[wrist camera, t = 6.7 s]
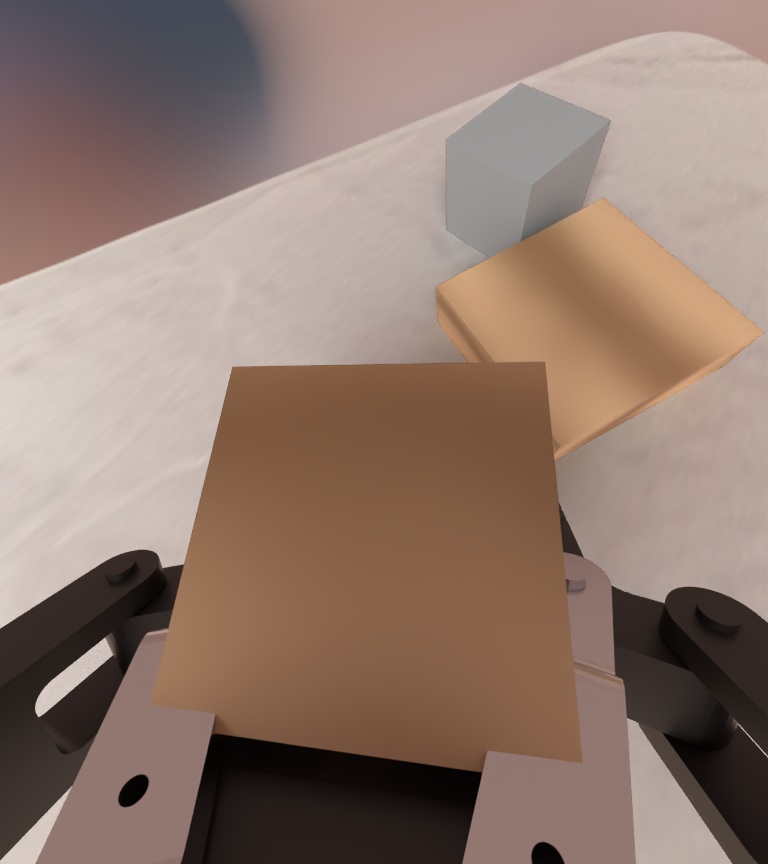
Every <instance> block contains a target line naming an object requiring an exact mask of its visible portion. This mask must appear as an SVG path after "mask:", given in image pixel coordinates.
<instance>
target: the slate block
mask: <svg viewBox="0 0 768 864" xmlns="http://www.w3.org/2000/svg"><path fill="white" fill-rule="evenodd" d="M610 123H611V120H609V119H607V118H604V117H602V116H600V115H597V114H595V113H592V112H590V111H588V110H585V109H583V108H580V107H578V106H575V105H573V104H571V103H568V102H566V101H563V100H561V99H559V98H556V97H554V96H551V95H549V94H546V93H544V92H542V91H539V90H537V89H534V88H532V87H530V86H527V85H525V84H522V83H520V84H518V85H517V86H516V87H514V88H513V89H512V90H510V91H509V92H508V93H507V94H505V95H504V96H503V97H501V98H500V99H499V100H497V101H496V102H495V103H493V104H492V105H491V106H489V107H488V108H487V109H485V110H484V111H483V112H482V113H480V114H479V115H478V116H476V117H475V118H474V119H472V120H471V121H470V122H468V123H467V124H466V125H464V126H463V127H462V128H460V129H459V130H458V131H457V132H455V133H454V134H453V135H451V136H450V137H449V138H447V139H446V230H447V231H449V232H450V233H452V234H453V235H455V236H457V237H458V238H460V239H461V240H463V241H464V242H466V243H467V244H469V245H470V246H472V247H473V248H475V249H476V250H478V251H479V252H481V253H483V254H484V255H486V256H487V257H489V258H491V257H493V256H495V255H496V254H498V253H500V252H502V251H504V250H506V249H508V248H510V247H512V246H514V245H515V244H517V243H519V242H521V241H523V240H525V239H527V238H529V237H531V236H532V235H534V234H536V233H538V232H540V231H542V230H544V229H546V228H548V227H550V226H551V225H553V224H555V223H557V222H559V221H561V220H563V219H565V218H567V217H569V216H570V215H572V214H574V213H576V212H578V211H580V209H581V207H582V204H583V201H584V198H585V195H586V192H587V189H588V186H589V183H590V180H591V178H592V175H593V172H594V169H595V166H596V163H597V160H598V157H599V154H600V152H601V149H602V146H603V143H604V140H605V137H606V134H607V131H608V128H609V125H610Z"/></svg>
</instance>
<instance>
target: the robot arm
mask: <svg viewBox="0 0 768 864" xmlns="http://www.w3.org/2000/svg"><path fill="white" fill-rule="evenodd" d="M558 504H559V502H558ZM559 514H560V525H561V536H562V546H563V557H564V568H565V578H566V589H567V600H568V611H569V621H570V632H571V643H572V653H573V664H574V675H575V685H576V696H577V707H578V718H579V728H580V739H581V750H582V760H583V763H576V762H569V761H562V760H554V759H547V758H539V757H532V756H525V755H517V754H510V753H503V752H495V751H488V750H487V755H486V759H485V764H484V768H483V772H476V771H469V770H462V769H455V768H449V767H442V766H435V765H428V764H421V763H415V762H408V761H401V760H394V759H387V758H380V757H374V756H367V755H360V754H353V753H346V752H339V751H333V750H326V749H319V748H312V747H305V746H298V745H292V744H285V743H278V742H271V741H264V740H257V739H251V738H244V737H237V736H230V735H223V734H216V733H215V727H216V714H214V713H207V712H199V711H192V710H185V709H177V708H170V707H162V706H155V705H150V702H151V698H152V694H153V690H154V686H155V681H156V677H157V673H158V669H159V665H160V661H161V657H162V653H163V649H164V645H165V641H166V637H167V632H168V628H169V624H170V620H171V616H172V612H173V608H174V604H175V600H176V596H177V592H178V588H179V583H180V579H181V575H182V571H183V567H184V565H178V566H172V567H166V568H162V565H161V562H160V559H159V557H158V555H157V554H156V553H155V552H153V551H149V550H135V551H130V552H126V553H123V554H120V555H118V556H115V557H113V558H111V559H109V560H107V561H105V562H104V563H102V564H100V565H99V566H97V567H96V568H94V569H92V570H91V571H89V572H88V573H86V574H85V575H83V576H82V577H80V578H78V579H77V580H75V581H74V582H72V583H71V584H69V585H68V586H66V587H64V588H63V589H61V590H60V591H58V592H57V593H55V594H54V595H52V596H50V597H49V598H47V599H46V600H44V601H43V602H41V603H40V604H38V605H36V606H35V607H33V608H32V609H30V610H29V611H27V612H26V613H24V614H22V615H21V616H19V617H18V618H16V619H15V620H13V621H12V622H10V623H8V624H7V625H5V626H4V627H2V628H1V629H0V860H1V859H2V858H3V857H4V856H5V855H6V854H7V853H8V852H9V851H10V850H11V849H12V848H13V846H14V845H15V844H16V843H17V842H18V841H19V840H20V839H21V838H22V837H23V836H24V835H25V834H26V833H27V832H28V831H29V830H30V829H31V828H32V827H33V826H34V825H35V824H36V823H37V822H38V821H39V819H40V818H41V817H42V816H43V815H44V814H45V813H46V812H47V811H48V810H49V809H50V808H51V807H52V806H53V805H54V804H55V803H56V802H57V801H58V800H59V799H60V798H61V797H62V796H63V795H64V793H65V792H66V791H67V790H68V789H69V788H70V787H71V786H72V785H73V786H72V788H71V790H70V792H69V794H68V796H67V798H66V801H65V803H64V805H63V807H62V809H61V811H60V813H59V815H58V817H57V820H56V822H55V824H54V826H53V828H52V830H51V832H50V834H49V836H48V838H47V841H46V843H45V845H44V847H43V849H42V851H41V853H40V855H39V857H38V860H37V862H36V864H636V860H635V844H634V827H633V811H632V795H631V779H630V763H629V747H628V730H627V718H629V719H631V720H634V721H636V722H638V724H639V726H640V728H641V729H642V731H643V732H644V734H645V735H646V737H647V738H648V740H649V741H650V743H651V744H652V746H653V747H654V749H655V750H656V752H657V753H658V755H659V756H660V758H661V759H662V760H663V762H664V763H665V765H666V766H667V768H668V769H669V771H670V772H671V774H672V775H673V777H674V778H675V780H676V781H677V783H678V784H679V786H680V787H681V788H682V790H683V791H684V793H685V794H686V796H687V797H688V799H689V800H690V802H691V803H692V805H693V806H694V808H695V809H696V811H697V812H698V813H699V815H700V816H701V818H702V819H703V821H704V822H705V824H706V825H707V827H708V828H709V830H710V831H711V833H712V834H713V836H714V837H715V839H716V840H717V841H718V843H719V844H720V846H721V847H722V849H723V850H724V852H725V853H726V855H727V856H728V858H729V859H730V861H731V862H732V864H768V758H767V757H766V755H765V754H764V753H763V752H762V751H761V750H760V749H759V748H758V746H757V745H756V744H755V743H754V742H753V741H752V740H751V739H750V738H749V736H748V735H747V734H746V733H745V732H744V731H743V730H742V729H741V728H740V726H739V725H738V724H740V725H741V726H742V728H743V729H744V730H745V731H746V732H747V733H748V734H749V735H750V736H751V738H752V739H753V740H754V741H755V742H756V743H757V744H758V745H759V746H760V748H761V749H762V750H763V751H764V752H765V753H766V754H767V755H768V623H767V622H766V621H765V620H764V619H762V618H761V617H760V616H759V615H757V614H756V613H755V612H753V611H752V610H751V609H749V608H748V607H747V606H745V605H743V604H742V603H740V602H738V601H736V600H734V599H733V598H731V597H728V596H726V595H724V594H721V593H718V592H715V591H712V590H708V589H704V588H698V587H681V588H677V589H674V590H672V591H671V592H670V593H669V594H668V595H667V597H666V600H665V603H661V602H658V601H654V600H651V599H647V598H644V597H640V596H637V595H633V594H630V593H627V592H624V591H622V590H619V589H617V588H615V587H613V586H611V582H610V580H609V578H608V576H607V575H606V574H605V572H604V571H603V570H602V569H601V568H599V567H598V566H597V565H596V564H594V563H593V562H591V561H589V560H587V559H585V558H584V557H583V555H582V553H581V550H580V548H579V546H578V544H577V541H576V539H575V537H574V535H573V533H572V530H571V528H570V526H569V524H568V522H567V521H566V517H565V515H564V513H563V511H562V510H561V506H560V504H559ZM104 638H106V640H107V642H108V644H109V646H110V649H111V651H112V653H113V656H112V657H110V658H109V659H108V660H107V661H106V662H105V663H103V664H102V665H101V666H100V667H99V668H98V669H96V670H95V671H94V672H93V673H92V674H91V675H89V676H88V677H87V678H86V679H85V680H84V681H82V682H81V683H80V684H79V685H78V686H76V687H75V688H74V689H73V690H72V691H71V692H69V693H68V694H67V695H66V696H65V697H64V698H62V699H61V700H60V701H59V702H58V703H57V704H55V705H54V706H53V707H52V708H51V709H50V710H48V711H47V712H46V713H45V714H43V715H42V716H40V717H38V716H37V714H36V712H35V704H36V701H37V698H38V696H39V694H40V693H41V691H42V690H43V689H44V687H45V686H46V685H47V684H48V683H49V682H50V681H51V680H52V679H54V678H55V677H56V676H57V675H59V674H60V673H61V672H62V671H64V670H65V669H66V668H67V667H69V666H70V665H71V664H72V663H74V662H75V661H76V660H77V659H79V658H80V657H81V656H82V655H84V654H85V653H86V652H87V651H89V650H90V649H91V648H92V647H94V646H95V645H96V644H97V643H99V642H100V641H101V640H102V639H104Z"/></svg>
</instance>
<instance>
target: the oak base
mask: <svg viewBox="0 0 768 864" xmlns="http://www.w3.org/2000/svg"><path fill="white" fill-rule="evenodd" d="M436 293H437V319H438V323H439V324H440V326H441V327H442V328H443V330H444V331H445V332H446V334H447V335H448V336H449V338H450V339H451V341H452V342H453V343H454V345H455V346H456V347H457V349H458V350H459V351H460V353H461V354H462V355H463V357H464V358H465V359H466V361H467V362H468V363H487V362H545V365H546V375H547V386H548V397H549V407H550V418H551V429H552V439H553V450H554V461H555V460H557V459H559V458H561V457H562V456H564V455H566V454H568V453H569V452H571V451H573V450H575V449H577V448H578V447H580V446H582V445H584V444H586V443H587V442H589V441H591V440H593V439H594V438H596V437H598V436H600V435H602V434H603V433H605V432H607V431H609V430H610V429H612V428H614V427H616V426H618V425H619V424H621V423H623V422H625V421H627V420H628V419H630V418H632V417H634V416H635V415H637V414H639V413H641V412H643V411H644V410H646V409H648V408H650V407H652V406H653V405H655V404H657V403H659V402H660V401H662V400H664V399H666V398H668V397H669V396H671V395H673V394H675V393H677V392H678V391H680V390H682V389H684V388H685V387H687V386H689V385H691V384H693V383H694V382H696V381H698V380H700V379H702V378H703V377H705V376H707V375H709V374H710V373H712V372H714V371H716V370H718V369H719V368H721V367H722V366H723V365H725V364H726V363H727V362H728V361H730V360H731V359H732V358H733V357H735V356H736V355H737V354H738V353H740V352H741V351H742V350H743V349H744V348H746V347H747V346H748V345H749V344H751V343H752V342H753V341H754V340H756V339H757V338H758V337H759V336H760V335H762V334H763V333H764V332H763V331H762V330H761V329H760V328H759V327H757V326H756V325H755V324H754V323H753V322H751V321H750V320H749V319H748V318H747V317H746V316H744V315H743V314H742V313H741V312H740V311H738V310H737V309H736V308H735V307H734V306H732V305H731V304H730V303H729V302H728V301H726V300H725V299H724V298H723V297H722V296H720V295H719V294H718V293H717V292H716V291H714V290H713V289H712V288H711V287H710V286H708V285H707V284H706V283H705V282H704V281H702V280H701V279H700V278H699V277H698V276H696V275H695V274H694V273H693V272H692V271H690V270H689V269H688V268H687V267H686V266H684V265H683V264H682V263H681V262H680V261H679V260H677V259H676V258H675V257H674V256H673V255H671V254H670V253H669V252H668V251H667V250H665V249H664V248H663V247H662V246H661V245H659V244H658V243H657V242H656V241H655V240H653V239H652V238H651V237H650V236H649V235H647V234H646V233H645V232H644V231H643V230H641V229H640V228H639V227H638V226H637V225H635V224H634V223H633V222H632V221H631V220H629V219H628V218H627V217H626V216H625V215H623V214H622V213H621V212H620V211H619V210H617V209H616V208H615V207H614V206H613V205H612V204H610V203H609V202H608V201H607V200H606V199H604V198H603V199H601V200H599V201H597V202H595V203H593V204H591V205H589V206H588V207H586V208H584V209H582V210H580V211H578V212H576V213H574V214H572V215H570V216H569V217H567V218H565V219H563V220H561V221H559V222H557V223H555V224H553V225H551V226H550V227H548V228H546V229H544V230H542V231H540V232H538V233H536V234H534V235H532V236H531V237H529V238H527V239H525V240H523V241H521V242H519V243H517V244H515V245H514V246H512V247H510V248H508V249H506V250H504V251H502V252H500V253H498V254H496V255H495V256H493V257H491V258H489V259H487V260H485V261H483V262H481V263H479V264H477V265H476V266H474V267H472V268H470V269H468V270H466V271H464V272H462V273H460V274H458V275H457V276H455V277H453V278H451V279H449V280H447V281H445V282H443V283H441V284H440V285H438V286H436Z"/></svg>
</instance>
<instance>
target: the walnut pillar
mask: <svg viewBox="0 0 768 864" xmlns="http://www.w3.org/2000/svg"><path fill="white" fill-rule="evenodd" d="M150 705H155V706H162V707H170V708H177V709H185V710H192V711H199V712H207V713H214V714H216V727H215V733H216V734H223V735H230V736H237V737H244V738H251V739H257V740H264V741H271V742H278V743H285V744H292V745H298V746H305V747H312V748H319V749H326V750H333V751H339V752H346V753H353V754H360V755H367V756H374V757H380V758H387V759H394V760H401V761H408V762H415V763H421V764H428V765H435V766H442V767H449V768H455V769H462V770H469V771H476V772H483V768H484V764H485V759H486V755H487V750H488V751H495V752H503V753H510V754H517V755H525V756H532V757H539V758H547V759H554V760H562V761H569V762H576V763H583V760H582V750H581V739H580V728H579V718H578V707H577V696H576V685H575V675H574V664H573V653H572V643H571V632H570V621H569V611H568V600H567V589H566V578H565V568H564V557H563V546H562V536H561V525H560V514H559V504H558V493H557V482H556V471H555V461H554V450H553V439H552V429H551V418H550V407H549V397H548V386H547V375H546V365H545V362H487V363H429V364H370V365H311V366H252V367H232V371H231V375H230V379H229V383H228V387H227V391H226V395H225V400H224V404H223V408H222V412H221V416H220V420H219V424H218V428H217V432H216V436H215V440H214V445H213V449H212V453H211V457H210V461H209V465H208V469H207V473H206V477H205V481H204V485H203V489H202V494H201V498H200V502H199V506H198V510H197V514H196V518H195V522H194V526H193V530H192V534H191V538H190V543H189V547H188V551H187V555H186V559H185V563H184V567H183V571H182V575H181V579H180V583H179V588H178V592H177V596H176V600H175V604H174V608H173V612H172V616H171V620H170V624H169V628H168V632H167V637H166V641H165V645H164V649H163V653H162V657H161V661H160V665H159V669H158V673H157V677H156V681H155V686H154V690H153V694H152V698H151V702H150Z"/></svg>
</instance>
